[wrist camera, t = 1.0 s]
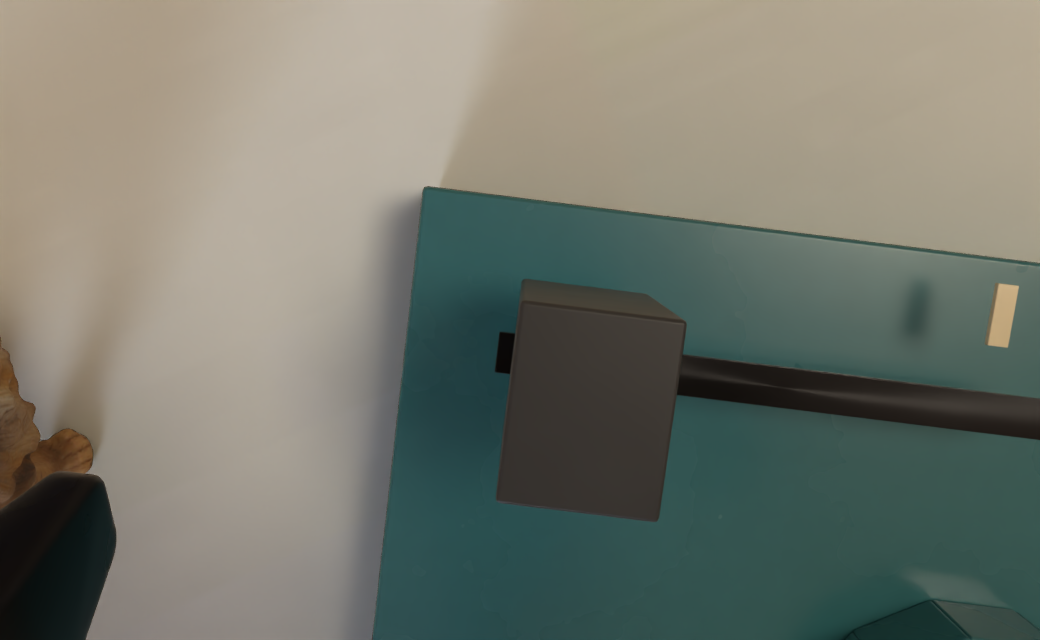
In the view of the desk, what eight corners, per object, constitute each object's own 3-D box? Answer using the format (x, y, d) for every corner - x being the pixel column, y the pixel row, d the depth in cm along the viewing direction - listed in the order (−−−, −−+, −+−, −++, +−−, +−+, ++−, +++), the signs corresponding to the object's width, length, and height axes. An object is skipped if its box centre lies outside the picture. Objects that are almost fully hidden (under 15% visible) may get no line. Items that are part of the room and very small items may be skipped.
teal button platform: (1026, 831, 26) (1147, 982, 21) (371, 752, 25) (333, 884, 20) (1134, 276, 24) (1294, 293, 19) (435, 188, 24) (411, 182, 19)
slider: (627, 449, 19) (659, 523, 14) (502, 434, 19) (495, 504, 14) (649, 293, 19) (688, 320, 14) (522, 277, 18) (520, 299, 14)
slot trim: (1054, 441, 19) (1059, 442, 19) (494, 371, 19) (494, 372, 19) (1082, 293, 19) (1087, 294, 19) (513, 222, 19) (513, 222, 19)
